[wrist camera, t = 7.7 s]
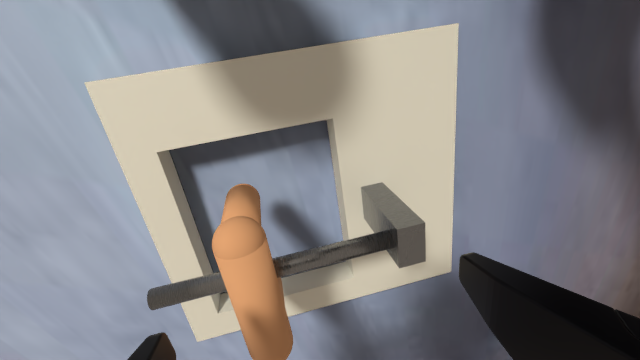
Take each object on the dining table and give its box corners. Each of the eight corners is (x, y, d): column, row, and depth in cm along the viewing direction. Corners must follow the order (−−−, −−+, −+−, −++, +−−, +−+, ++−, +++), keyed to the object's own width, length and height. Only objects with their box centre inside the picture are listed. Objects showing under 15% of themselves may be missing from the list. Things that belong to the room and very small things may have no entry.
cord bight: (258, 171, 17) (260, 227, 11) (287, 284, 20) (299, 370, 15) (218, 180, 17) (200, 241, 11) (254, 292, 20) (254, 384, 14)
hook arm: (382, 182, 20) (425, 222, 15) (384, 213, 21) (425, 261, 16) (167, 230, 18) (135, 295, 13) (180, 262, 19) (155, 334, 14)
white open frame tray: (438, 26, 19) (458, 23, 17) (437, 257, 26) (451, 271, 24) (102, 80, 16) (84, 82, 15) (201, 320, 23) (197, 341, 22)
